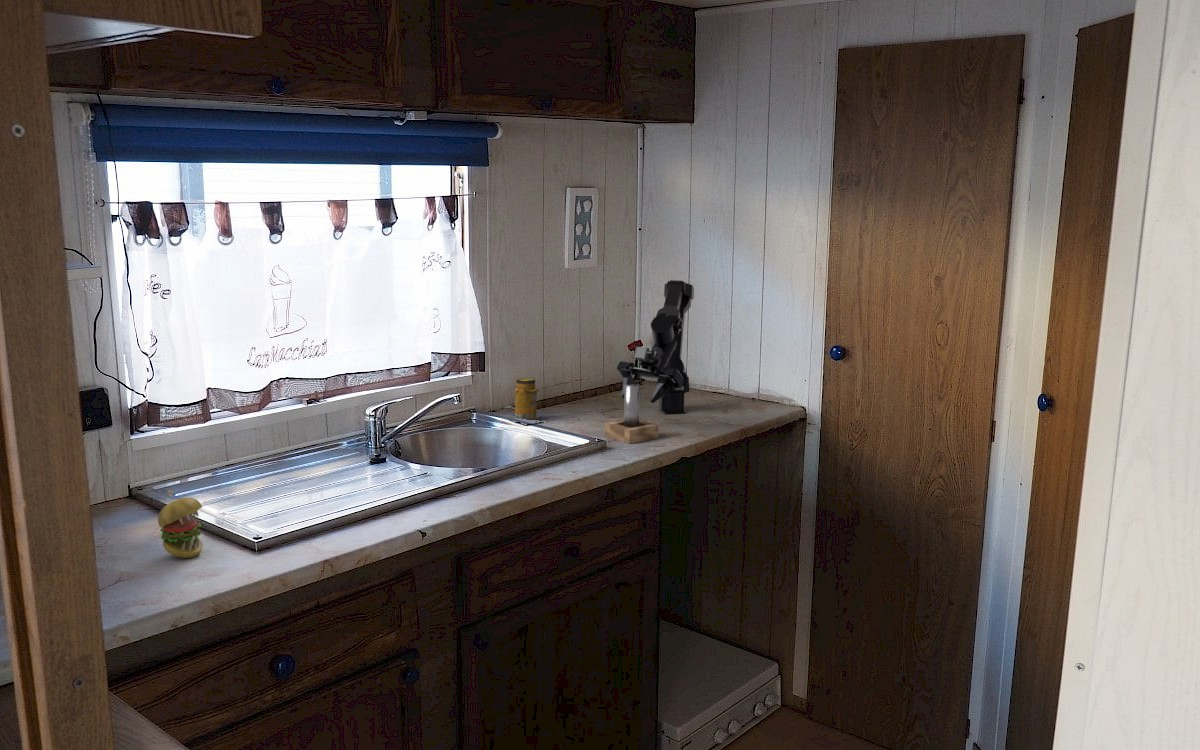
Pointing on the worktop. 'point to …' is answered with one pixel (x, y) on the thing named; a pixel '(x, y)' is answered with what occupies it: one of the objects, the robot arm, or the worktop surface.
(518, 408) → the condiment
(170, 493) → the hamburger
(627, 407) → the peg
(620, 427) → the socket
